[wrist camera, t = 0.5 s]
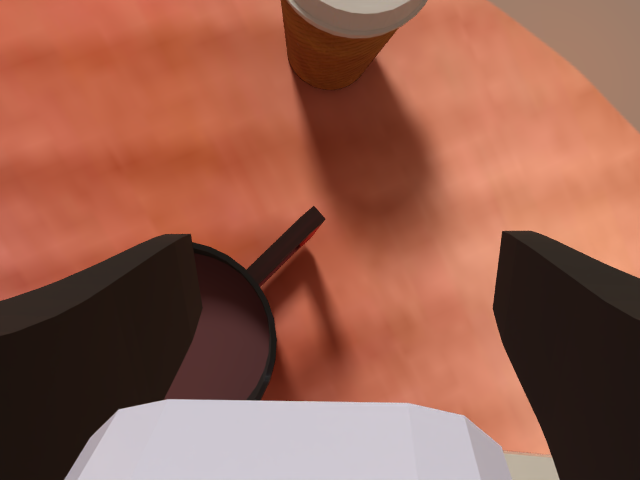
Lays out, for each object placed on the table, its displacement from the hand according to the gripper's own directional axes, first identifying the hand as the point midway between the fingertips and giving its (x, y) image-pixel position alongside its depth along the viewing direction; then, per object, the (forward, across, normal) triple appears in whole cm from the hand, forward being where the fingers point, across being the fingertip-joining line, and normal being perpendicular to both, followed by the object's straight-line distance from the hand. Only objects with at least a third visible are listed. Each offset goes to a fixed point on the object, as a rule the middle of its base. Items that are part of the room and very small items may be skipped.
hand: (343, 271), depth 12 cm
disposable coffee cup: (+31, +2, -2) cm, 31 cm away
